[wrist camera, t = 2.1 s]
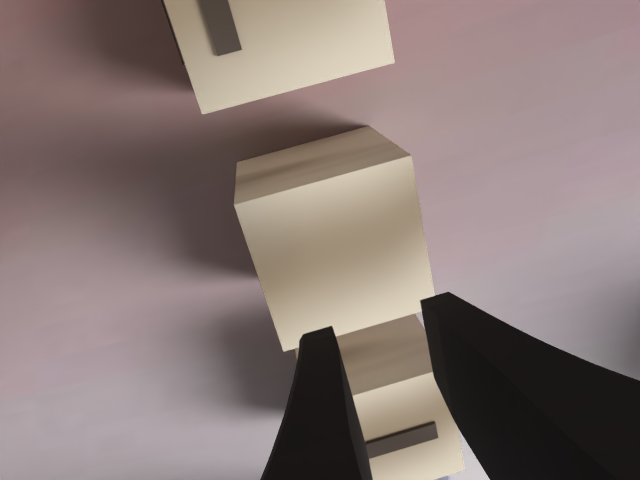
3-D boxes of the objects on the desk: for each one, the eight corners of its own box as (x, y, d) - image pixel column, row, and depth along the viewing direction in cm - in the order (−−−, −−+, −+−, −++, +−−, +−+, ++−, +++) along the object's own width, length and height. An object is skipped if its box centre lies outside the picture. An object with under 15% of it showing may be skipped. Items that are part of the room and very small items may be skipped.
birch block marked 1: (420, 383, 23) (466, 472, 18) (315, 415, 23) (334, 513, 18) (403, 295, 21) (450, 369, 16) (288, 328, 21) (300, 414, 16)
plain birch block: (392, 244, 20) (436, 307, 15) (274, 278, 20) (283, 351, 15) (368, 125, 18) (411, 155, 13) (236, 161, 18) (233, 205, 13)
